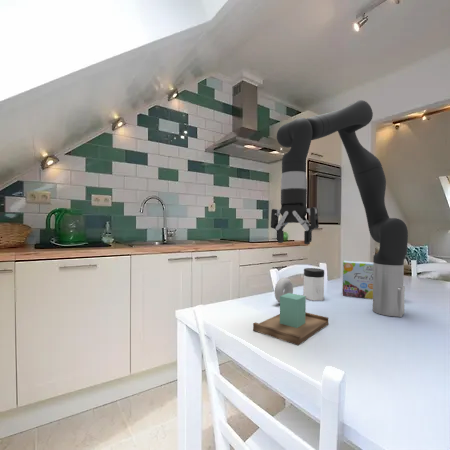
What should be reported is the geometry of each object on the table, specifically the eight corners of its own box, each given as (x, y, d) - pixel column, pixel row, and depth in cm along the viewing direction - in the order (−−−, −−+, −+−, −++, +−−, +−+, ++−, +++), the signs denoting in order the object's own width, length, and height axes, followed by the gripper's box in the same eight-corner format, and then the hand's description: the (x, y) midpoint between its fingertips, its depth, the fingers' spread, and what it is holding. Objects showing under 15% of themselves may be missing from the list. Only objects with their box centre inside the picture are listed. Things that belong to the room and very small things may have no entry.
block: (305, 323, 81) (305, 296, 81) (296, 328, 76) (297, 299, 77) (288, 318, 84) (288, 292, 84) (279, 323, 80) (279, 296, 80)
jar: (307, 301, 109) (308, 271, 109) (299, 295, 117) (299, 268, 117) (328, 300, 110) (329, 271, 110) (319, 295, 118) (319, 267, 118)
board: (328, 324, 83) (328, 317, 83) (298, 345, 68) (298, 337, 68) (287, 313, 93) (287, 307, 93) (253, 330, 78) (253, 323, 78)
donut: (287, 300, 109) (287, 275, 109) (294, 302, 107) (294, 276, 107) (272, 305, 102) (272, 278, 102) (280, 307, 100) (280, 280, 100)
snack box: (342, 296, 117) (343, 261, 117) (342, 293, 122) (342, 260, 122) (400, 302, 109) (400, 264, 109) (397, 299, 114) (397, 263, 114)
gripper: (322, 188, 78) (322, 244, 78) (279, 191, 88) (278, 241, 88) (311, 185, 73) (311, 245, 73) (266, 189, 82) (266, 242, 82)
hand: (293, 243), depth 80 cm, fingers open, 8 cm apart
